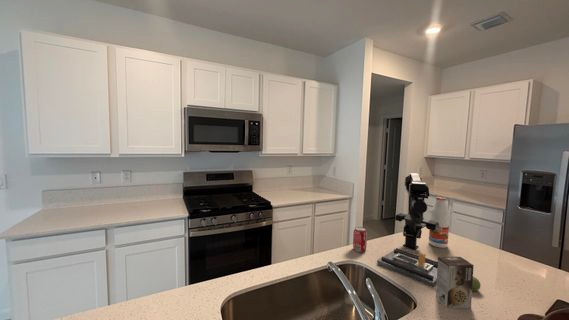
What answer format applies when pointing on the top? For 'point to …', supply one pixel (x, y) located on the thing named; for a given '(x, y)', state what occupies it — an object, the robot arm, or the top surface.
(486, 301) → the top surface
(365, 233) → the soda can
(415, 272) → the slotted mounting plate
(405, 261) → the panel
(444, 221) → the fruit juice
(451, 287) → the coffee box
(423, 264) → the breaker lever
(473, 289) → the pear
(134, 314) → the top surface
